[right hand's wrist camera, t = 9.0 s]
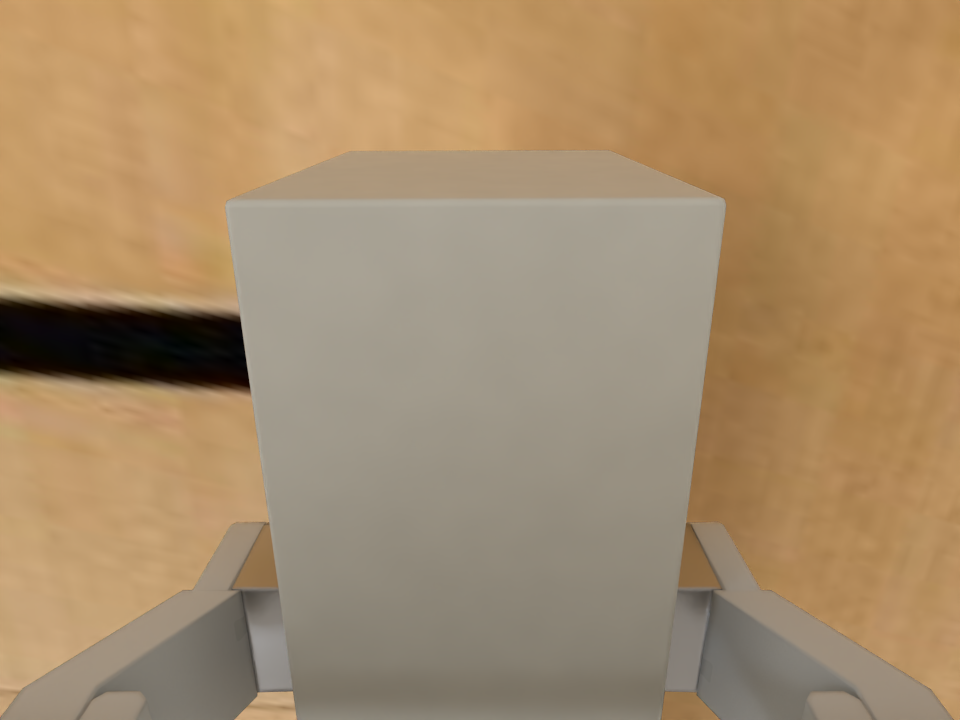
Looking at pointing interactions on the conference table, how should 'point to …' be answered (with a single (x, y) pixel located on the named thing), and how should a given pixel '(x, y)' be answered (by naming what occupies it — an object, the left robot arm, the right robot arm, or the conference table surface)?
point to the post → (477, 425)
